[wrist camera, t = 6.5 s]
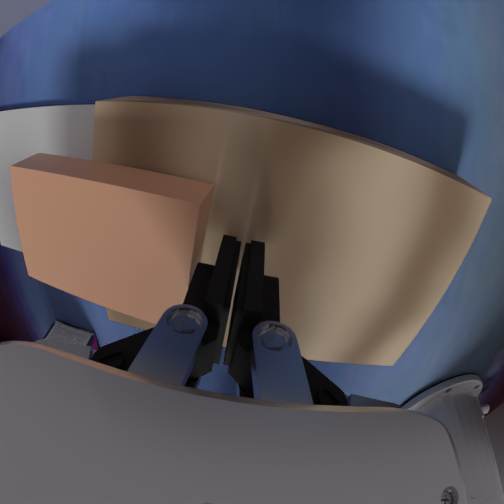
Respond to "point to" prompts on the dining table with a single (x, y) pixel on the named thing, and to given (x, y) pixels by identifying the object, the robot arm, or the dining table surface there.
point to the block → (110, 231)
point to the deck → (310, 216)
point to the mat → (38, 148)
